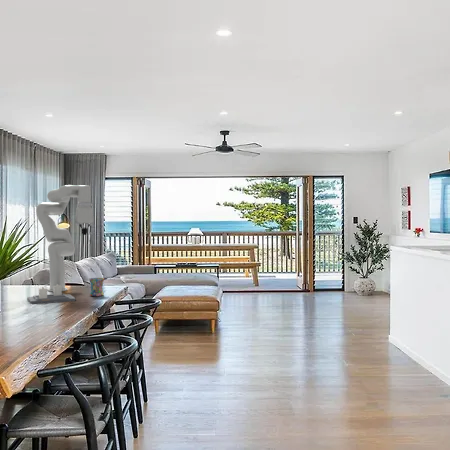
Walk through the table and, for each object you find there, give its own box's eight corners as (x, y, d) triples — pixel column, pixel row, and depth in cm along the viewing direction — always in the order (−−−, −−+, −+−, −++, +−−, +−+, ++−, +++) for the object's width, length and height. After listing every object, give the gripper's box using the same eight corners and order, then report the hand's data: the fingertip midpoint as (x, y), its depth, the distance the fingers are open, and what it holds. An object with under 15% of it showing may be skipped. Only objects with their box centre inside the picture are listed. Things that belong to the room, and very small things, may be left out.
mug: (89, 295, 320) (89, 277, 320) (105, 294, 322) (105, 277, 322) (87, 297, 309) (87, 280, 308) (103, 297, 310) (103, 279, 310)
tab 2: (53, 295, 306) (53, 284, 306) (60, 295, 308) (60, 284, 307) (54, 296, 302) (54, 285, 302) (61, 296, 304) (61, 284, 304)
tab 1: (38, 298, 294) (38, 286, 294) (46, 298, 296) (46, 286, 296) (39, 299, 291) (39, 287, 291) (47, 299, 293) (47, 287, 293)
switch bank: (27, 299, 302) (27, 295, 302) (69, 296, 313) (69, 292, 313) (30, 304, 286) (30, 299, 286) (75, 300, 297) (75, 296, 297)
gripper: (95, 205, 328) (95, 234, 328) (70, 205, 321) (71, 234, 321) (97, 205, 321) (97, 234, 321) (73, 205, 315) (73, 235, 315)
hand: (84, 234), depth 321 cm, fingers closed
